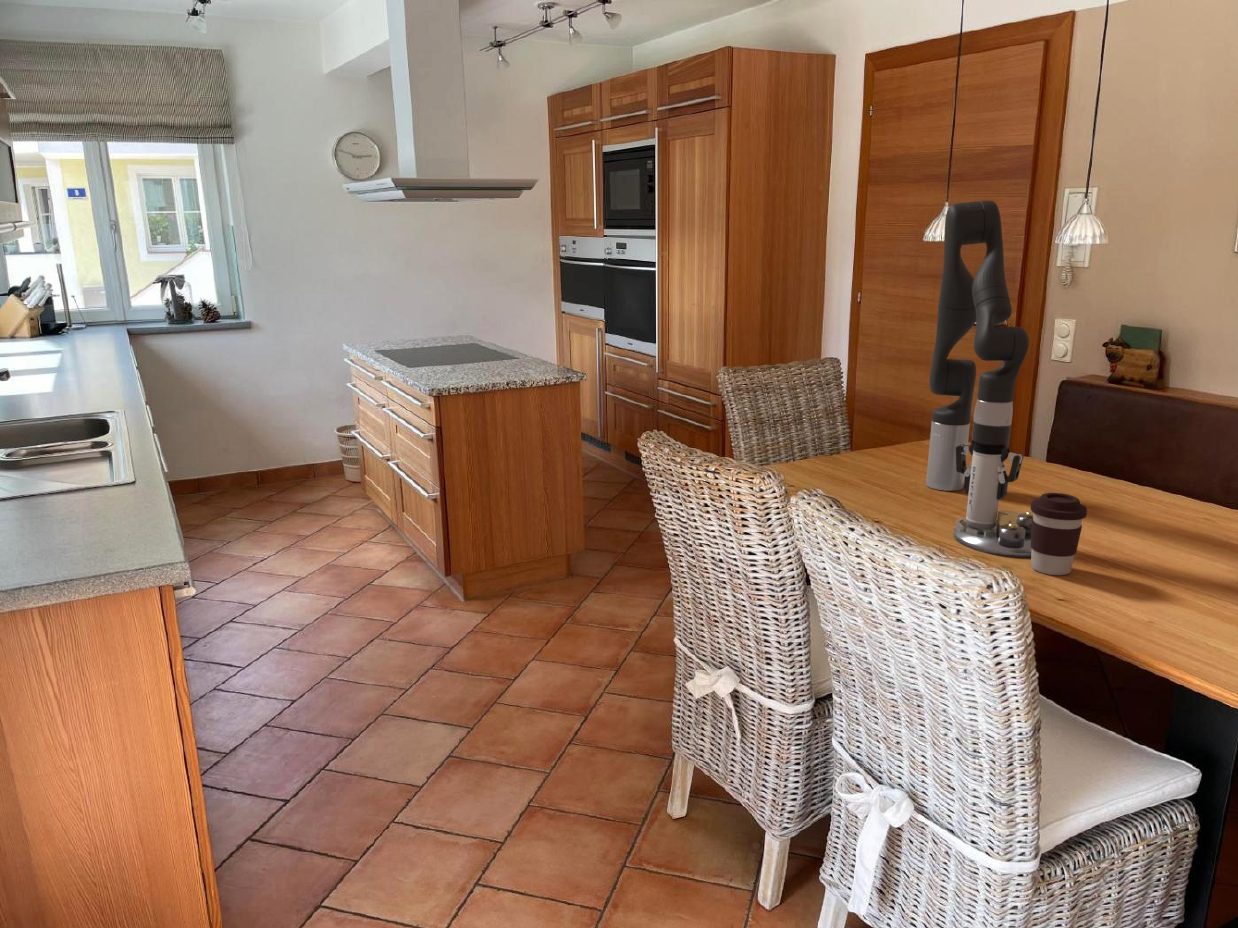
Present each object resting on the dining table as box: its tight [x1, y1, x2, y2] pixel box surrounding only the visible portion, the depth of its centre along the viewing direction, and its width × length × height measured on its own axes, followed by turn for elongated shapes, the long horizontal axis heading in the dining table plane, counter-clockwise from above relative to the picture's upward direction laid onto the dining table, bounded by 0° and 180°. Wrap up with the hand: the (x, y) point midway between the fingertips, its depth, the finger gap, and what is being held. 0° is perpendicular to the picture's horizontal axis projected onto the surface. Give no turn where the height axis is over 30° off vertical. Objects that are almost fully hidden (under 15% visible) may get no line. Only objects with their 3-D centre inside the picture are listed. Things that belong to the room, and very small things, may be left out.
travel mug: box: [965, 442, 1003, 529], centre depth 196 cm, size 6×7×20 cm
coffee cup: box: [1030, 492, 1088, 576], centre depth 177 cm, size 10×10×15 cm
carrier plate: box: [953, 509, 1033, 559], centre depth 195 cm, size 21×21×6 cm
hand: (984, 495), depth 197 cm, fingers closed on travel mug, 6 cm apart
